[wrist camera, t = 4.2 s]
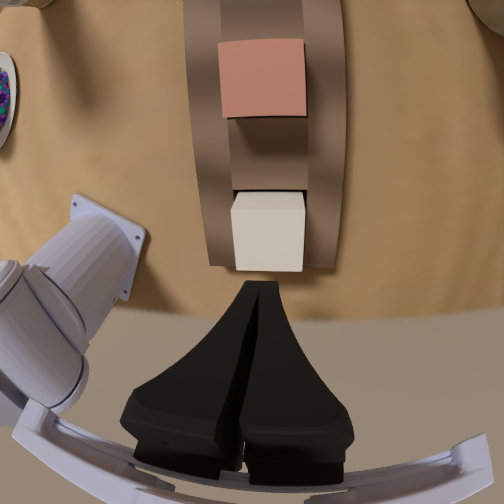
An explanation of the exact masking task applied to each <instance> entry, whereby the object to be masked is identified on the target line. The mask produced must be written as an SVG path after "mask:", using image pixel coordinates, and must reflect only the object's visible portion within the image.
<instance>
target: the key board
mask: <svg viewBox="0 0 504 504" xmlns="http://www.w3.org/2000/svg"><path fill="white" fill-rule="evenodd" d="M183 13H184V38H185V56H186V71H187V84H188V96H189V108H190V118H191V128H192V138H193V147H194V156H195V164H196V173H197V181H198V188H199V196H200V203H201V210H202V217H203V224H204V231H205V238H206V244H207V250H208V257H209V263H210V266H236V261H235V251H234V241H233V231H232V220H231V208H232V206H233V204H234V201H235V199H236V197H237V195H238V192H239V191H238V190H243V189H299V190H305V229H304V249H303V265H302V268H334V264H335V257H336V250H337V242H338V233H339V224H340V214H341V204H342V192H343V179H344V162H345V140H346V71H345V49H344V35H343V23H342V13H341V4H340V0H183ZM254 39H303V44H304V61H305V85H306V116H249V117H227V118H223V115H222V101H221V87H220V72H219V56H218V43H221V42H230V41H240V40H254Z"/></svg>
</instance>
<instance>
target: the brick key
mask: <svg viewBox="0 0 504 504" xmlns="http://www.w3.org/2000/svg"><path fill="white" fill-rule="evenodd" d="M218 56H219V72H220V87H221V101H222V115H223V118H227V117H243V116H274V115H293V116H306V85H305V61H304V44H303V39H254V40H240V41H230V42H221V43H218Z"/></svg>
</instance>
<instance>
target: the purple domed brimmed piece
mask: <svg viewBox="0 0 504 504" xmlns="http://www.w3.org/2000/svg"><path fill="white" fill-rule="evenodd" d="M0 67H2V68H4V69H5V70H6V71H7V73H8V74H7V73H6V72H2V71H1V68H0V127H1V125H4V123H5V121H6V123H5V125H4V127H3V129H2V131H1V132H0V148H1V147H2V145H3V144H4V142H5V140H6V138H7V136H8V134H9V131H10V128H11V124H12V120H13V115H14V109H15V101H16V75H15V69H14V65H13V62H12V60H11V58H10V56H9V55H8V54H6V53H4V52H0ZM8 76H9V80H10V87H11V98H10V89H9V87H8ZM9 102H10V107H9V113H8V117H7V106H8V104H9ZM6 118H7V120H6Z"/></svg>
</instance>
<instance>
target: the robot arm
mask: <svg viewBox="0 0 504 504" xmlns="http://www.w3.org/2000/svg"><path fill="white" fill-rule="evenodd" d="M76 203H77V205H76ZM137 236H139V237H140V239H139V238H138V237H137ZM145 236H146V231H145V229H144V228H143V227H141V226H139V225H137V224H135V223H133V222H131V221H129V220H127V219H125V218H123V217H122V216H120V215H118V214H116V213H114V212H112V211H110V210H108V209H106V208H104V207H102V206H101V205H99V204H97V203H95V202H93V201H91V200H89V199H87V198H85V197H84V196H82V195H80V194H78V193H76V194H74V195H73V196H72V203H71V213H70V223H69V224H68V225H66V226H65V227H64V228H63V229H61V230H60V231H59V232H58V233H57V234H56V235H54V236H53V237H52V238H51V239H50V240H49V241H48V242H46V243H45V244H44V245H43V246H42V247H41V248H40V249H39V250H38V251H37V252H35V253H34V254H33V255H32V256H31V257H30V258H29V259H28V260H27V261H26V262H25V263H24V264H23V265H22V266H21V265H20V263H19V262H18V261H17V260H9V259H6V260H3V261H1V262H0V425H3V426H10V427H15V429H14V431H13V433H12V437H13V438H14V439H15V440H16V441H17V442H19V443H20V444H21V445H22V446H24V447H25V448H26V449H27V450H29V451H30V452H31V453H32V454H34V455H35V456H36V457H38V458H39V459H40V460H41V461H42V462H44V463H45V464H46V465H48V466H49V467H50V468H52V469H53V470H55V471H56V472H57V473H59V474H60V475H62V476H63V477H65V478H66V479H68V480H69V481H71V482H72V483H74V484H75V485H77V486H78V487H80V488H82V489H83V490H85V491H87V492H88V493H90V494H92V495H94V496H95V497H97V498H99V499H101V500H103V501H105V502H106V503H109V504H235V503H228V502H221V501H215V500H209V499H204V498H199V497H194V496H189V495H185V494H181V493H177V492H174V491H175V486H174V485H173V484H170V483H168V482H165V481H163V480H160V479H159V478H157V477H156V476H153V475H151V474H148V473H145V472H143V471H140V470H137V469H136V468H135V467H138V468H141V469H144V470H148V471H151V472H154V473H158V474H161V475H164V476H168V477H172V478H176V479H180V480H184V481H189V482H193V483H198V484H203V485H208V486H214V487H220V488H227V489H235V490H245V491H255V492H271V493H315V492H330V491H341V490H348V491H346V492H339V493H331V494H323V495H313V496H311V497H310V498H309V499H306V500H305V501H304V504H454V503H456V502H458V501H460V500H462V499H464V498H466V497H468V496H470V495H472V494H474V493H476V492H478V491H480V490H482V489H483V488H485V487H487V486H489V485H490V484H492V483H493V481H494V479H493V471H492V464H491V459H490V453H489V448H488V443H487V439H486V434H485V433H481V434H479V435H476V436H474V437H471V438H469V439H466V440H464V441H462V442H460V443H458V444H457V445H455V446H454V447H452V449H450V450H447V451H444V452H441V453H438V454H435V455H432V456H428V457H425V458H421V459H418V460H414V461H410V462H405V463H401V464H397V465H392V466H387V467H382V468H376V469H370V470H363V471H355V472H347V473H344V468H343V462H345V450H346V449H347V448H348V447H349V446H350V445H351V444H352V443H353V441H354V431H353V426H352V423H351V420H350V417H349V415H348V412H347V410H346V408H345V407H344V406H343V405H342V403H341V402H340V401H339V400H338V399H337V398H336V397H335V396H334V395H333V393H332V392H331V391H330V390H329V389H328V387H327V386H326V385H325V384H324V382H323V381H322V380H321V378H320V377H319V375H318V374H317V373H316V371H315V370H314V368H313V367H312V366H311V364H310V362H309V361H308V359H307V357H306V356H305V354H304V353H303V351H302V349H301V347H300V346H299V343H298V342H297V340H296V338H295V335H294V333H293V331H292V329H291V327H290V324H289V322H288V319H287V317H286V314H285V311H284V308H283V305H282V302H281V298H280V293H279V283H278V282H276V281H250V280H247V281H245V282H244V284H243V286H242V288H241V289H240V291H239V293H238V294H237V296H236V297H235V299H234V301H233V302H232V304H231V305H230V306H229V308H228V309H227V311H226V312H225V313H224V315H223V316H222V317H221V318H220V320H219V321H218V322H217V323H216V325H215V326H214V327H213V328H212V330H211V331H210V332H209V333H208V334H207V335H206V336H205V337H204V338H203V339H202V340H201V341H200V342H199V343H198V344H197V345H196V346H195V347H194V348H193V349H192V350H191V351H190V352H188V353H187V354H186V355H185V356H184V357H183V358H181V359H180V360H179V361H178V362H176V363H175V364H174V365H172V366H171V367H169V368H168V369H167V370H165V371H164V372H162V373H161V374H159V375H158V376H157V377H155V378H153V379H152V380H150V381H148V382H146V383H145V384H143V385H141V386H140V387H138V388H136V389H134V390H133V392H132V394H131V396H130V397H129V399H128V401H127V403H126V406H125V409H124V411H123V413H122V416H121V419H120V423H121V425H122V427H123V428H124V429H125V430H126V431H128V432H129V433H130V434H131V435H132V436H134V437H135V438H136V439H137V440H138V443H137V446H136V449H132V448H129V447H126V446H123V445H121V444H118V443H115V442H113V441H110V440H108V439H105V438H103V437H100V436H98V435H95V434H93V433H91V432H88V431H86V430H84V429H82V428H80V427H77V426H76V425H74V424H72V423H70V422H68V421H66V420H64V419H62V418H60V417H58V416H57V415H56V414H58V413H61V412H63V411H65V410H67V409H68V408H70V407H71V406H72V405H74V404H75V403H76V402H77V400H78V399H79V398H80V396H81V395H82V393H83V391H84V389H85V386H86V383H87V380H88V375H89V364H88V361H87V359H86V357H85V356H84V354H85V352H86V350H87V348H88V347H89V345H90V344H89V341H90V340H91V339H92V338H93V337H94V335H95V334H96V333H97V331H98V329H99V328H100V326H101V325H102V323H103V321H104V320H105V318H106V317H107V315H108V313H109V312H110V311H111V309H112V307H113V306H114V304H115V303H116V301H117V300H118V298H120V299H121V300H123V301H128V299H129V298H130V293H131V289H132V285H133V280H134V276H135V272H136V268H137V265H138V261H139V257H140V253H141V250H142V246H143V243H144V239H145ZM244 441H245V448H244ZM243 451H244V455H243ZM242 462H245V463H246V466H247V468H248V473H242V472H238V471H239V470H241V469H242ZM134 466H135V467H134Z"/></svg>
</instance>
